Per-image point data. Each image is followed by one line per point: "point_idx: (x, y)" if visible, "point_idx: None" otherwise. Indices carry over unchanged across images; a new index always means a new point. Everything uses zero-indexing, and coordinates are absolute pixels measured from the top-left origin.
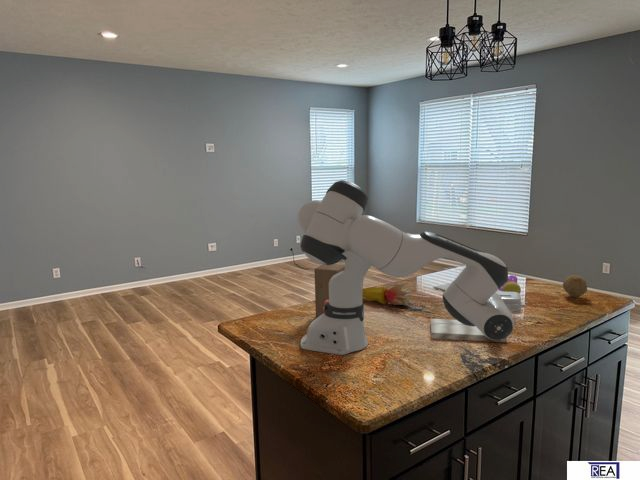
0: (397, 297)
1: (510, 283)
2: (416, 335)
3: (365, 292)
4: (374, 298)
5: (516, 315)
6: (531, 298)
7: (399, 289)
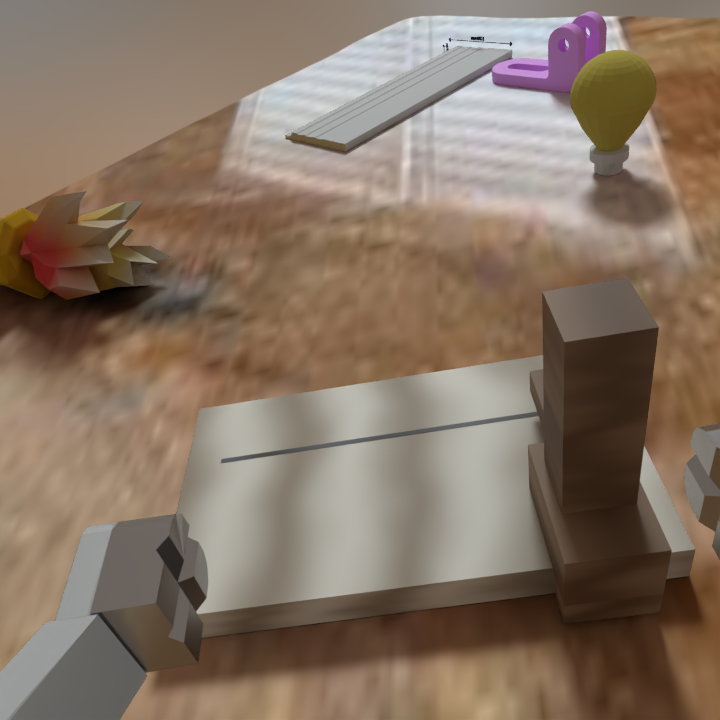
0: (68, 266)
1: (607, 63)
2: None
3: None
4: None
5: (655, 238)
6: (677, 106)
7: (70, 221)
